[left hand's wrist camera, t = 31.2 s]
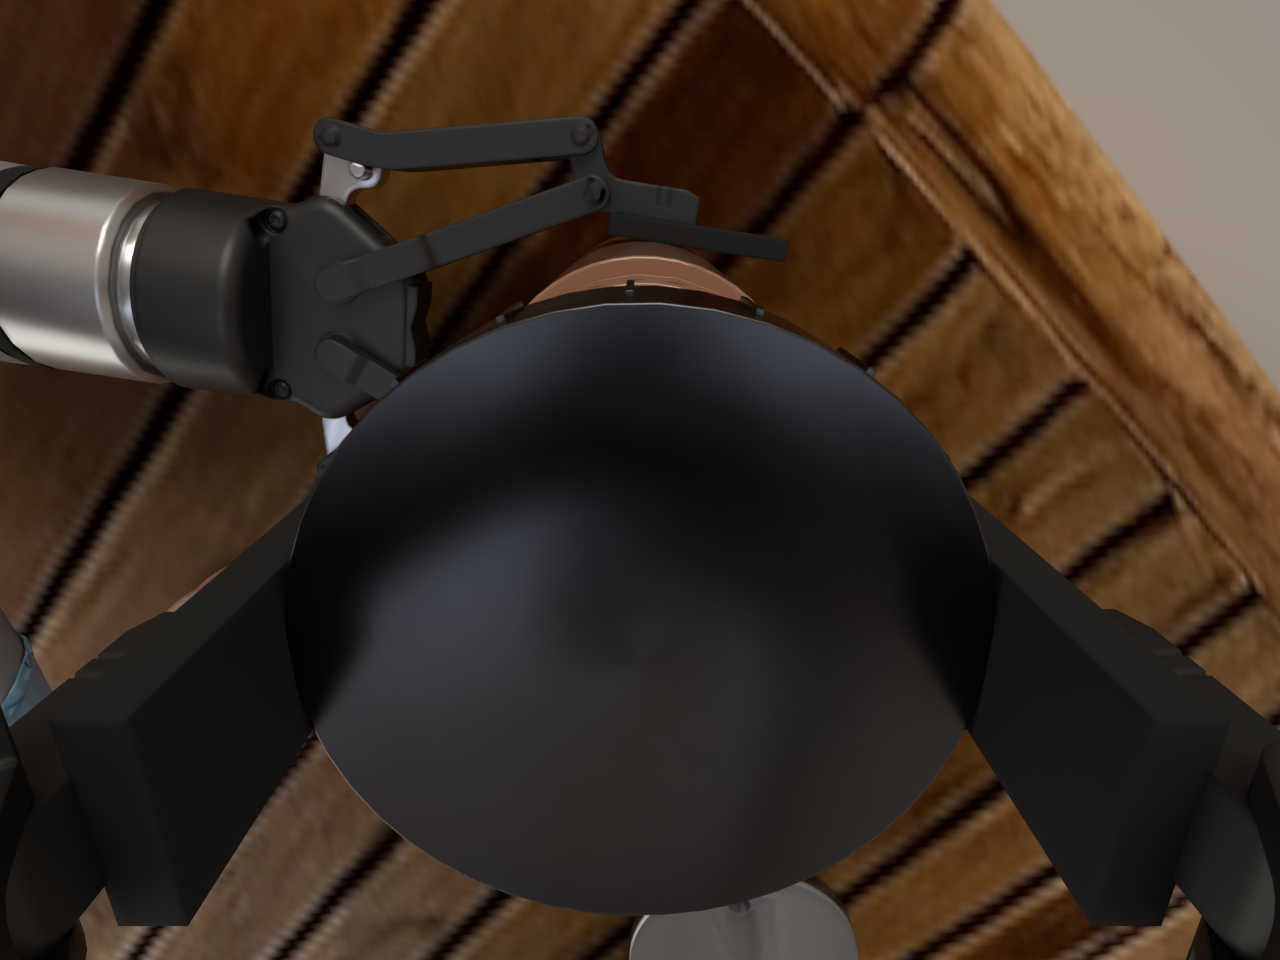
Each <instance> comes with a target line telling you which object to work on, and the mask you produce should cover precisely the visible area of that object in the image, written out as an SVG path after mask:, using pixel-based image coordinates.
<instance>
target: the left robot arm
mask: <svg viewBox="0 0 1280 960" xmlns="http://www.w3.org/2000/svg"><path fill="white" fill-rule="evenodd" d="M969 497H970V496H969ZM309 498H310V496H309V497H308V498H307V499H306V500H304V501H303V502H302V503H301V504H300V505H299V506H297V507H296V508H295V509H294V510H293V511H292V512H290V513H289V514H288V515H287V516H286V517H284V518H283V519H282V520H281V521H280V522H279V523H277V524H276V525H275V526H274V527H273V528H272V529H270V530H269V531H268V532H267V533H266V534H265V535H263V536H262V537H261V538H260V539H259V540H258V541H256V542H255V543H254V544H253V545H252V546H251V547H249V548H248V549H247V550H246V551H245V552H244V553H242V554H241V555H240V556H239V557H238V558H236V559H235V560H234V561H233V562H232V563H231V564H229V565H228V566H227V567H226V568H225V569H224V570H222V571H221V572H220V573H219V574H218V575H217V576H215V577H214V578H213V579H212V580H211V581H210V582H208V583H207V584H206V585H205V586H204V587H203V588H201V589H200V590H199V591H198V592H197V593H196V594H194V595H193V596H192V597H191V598H190V599H189V600H187V601H186V602H185V603H184V604H183V605H181V606H180V607H179V608H178V609H177V610H176V611H174V612H164V613H162V614H160V615H158V616H156V617H154V618H152V619H150V620H148V621H146V622H144V623H142V624H140V625H138V626H137V627H135V628H133V629H131V630H129V631H127V632H126V633H124V634H123V635H122V636H121V637H119V638H118V639H117V640H116V641H114V642H113V643H112V644H111V645H110V646H108V647H107V648H106V649H105V650H103V651H102V652H101V653H100V654H99V657H98V659H92V660H91V661H90V662H89V663H87V664H86V665H85V666H84V667H83V668H81V669H80V670H79V671H78V672H76V673H75V678H74V679H68V680H67V681H65V682H64V683H63V684H62V685H60V686H59V687H58V688H57V689H55V690H54V691H53V692H52V693H51V694H49V695H48V696H47V697H46V698H44V699H43V700H42V701H41V702H40V703H38V704H37V705H36V706H35V707H33V708H32V709H31V710H30V711H28V712H27V713H26V714H25V715H24V716H22V717H21V718H20V719H19V720H17V721H16V722H15V723H14V724H12V725H11V726H10V727H9V726H8V723H7V721H6V718H5V715H4V713H3V710H2V707H1V704H0V960H85V959H86V953H87V947H86V940H85V933H84V931H83V928H82V925H81V923H80V920H79V918H80V916H81V915H82V914H83V913H84V911H85V910H86V909H87V908H88V906H89V905H90V904H91V903H92V901H93V900H94V899H95V898H96V896H97V895H98V894H99V892H100V891H101V890H102V889H103V887H104V886H105V888H106V891H107V894H108V897H109V900H110V903H111V906H112V909H113V912H114V915H115V918H116V921H117V924H118V926H188V925H189V923H190V922H191V920H192V919H193V917H194V916H195V914H196V912H197V911H198V909H199V908H200V906H201V904H202V903H203V901H204V900H205V898H206V897H207V895H208V893H209V892H210V890H211V889H212V887H213V886H214V884H215V882H216V881H217V879H218V878H219V876H220V875H221V873H222V871H223V870H224V868H225V867H226V865H227V863H228V862H229V860H230V859H231V857H232V856H233V854H234V852H235V851H236V849H237V848H238V846H239V845H240V843H241V841H242V840H243V838H244V837H245V835H246V834H247V832H248V830H249V829H250V827H251V826H252V824H253V823H254V821H255V819H256V818H257V816H258V815H259V813H260V811H261V810H262V808H263V807H264V805H265V804H266V802H267V800H268V799H269V797H270V796H271V794H272V793H273V791H274V789H275V788H276V786H277V785H278V783H279V782H280V780H281V778H282V777H283V775H284V774H285V772H286V771H287V769H288V767H289V766H290V764H291V763H292V761H293V759H294V758H295V756H296V755H297V753H298V752H299V750H300V748H301V747H302V745H303V744H304V742H305V741H306V739H307V737H308V736H309V734H310V733H311V731H312V730H313V727H312V725H311V723H310V721H309V719H308V716H307V713H306V711H305V708H304V705H303V702H302V700H301V697H300V694H299V692H298V689H297V686H296V682H295V677H294V672H293V667H292V662H291V657H290V652H289V646H288V641H287V631H286V614H285V598H286V588H287V577H288V566H289V560H290V556H291V552H292V548H293V544H294V540H295V536H296V532H297V528H298V525H299V521H300V518H301V516H302V514H303V512H304V509H305V507H306V505H307V502H308V500H309ZM970 499H971V501H972V503H973V505H974V508H975V510H976V512H977V515H978V519H979V522H980V525H981V529H982V532H983V536H984V539H985V542H986V546H987V549H988V553H989V560H990V568H991V576H992V583H993V591H994V614H993V637H992V642H991V647H990V653H989V658H988V663H987V668H986V674H985V678H984V682H983V685H982V688H981V691H980V694H979V697H978V700H977V703H976V706H975V709H974V712H973V714H972V716H971V718H970V720H969V722H968V724H967V726H966V729H967V730H968V732H969V733H970V735H971V737H972V738H973V740H974V741H975V743H976V744H977V746H978V748H979V749H980V751H981V752H982V754H983V755H984V757H985V759H986V760H987V762H988V763H989V765H990V767H991V768H992V770H993V771H994V773H995V774H996V776H997V778H998V779H999V781H1000V782H1001V784H1002V785H1003V787H1004V789H1005V790H1006V792H1007V793H1008V795H1009V796H1010V798H1011V800H1012V801H1013V803H1014V804H1015V806H1016V808H1017V809H1018V811H1019V812H1020V814H1021V815H1022V817H1023V819H1024V820H1025V822H1026V823H1027V825H1028V826H1029V828H1030V830H1031V831H1032V833H1033V834H1034V836H1035V837H1036V839H1037V841H1038V842H1039V844H1040V845H1041V847H1042V849H1043V850H1044V852H1045V853H1046V855H1047V856H1048V858H1049V860H1050V861H1051V863H1052V864H1053V866H1054V867H1055V869H1056V871H1057V872H1058V874H1059V875H1060V877H1061V878H1062V880H1063V882H1064V883H1065V885H1066V886H1067V888H1068V889H1069V891H1070V893H1071V894H1072V896H1073V897H1074V899H1075V901H1076V902H1077V904H1078V905H1079V907H1080V908H1081V910H1082V912H1083V913H1084V915H1085V916H1086V918H1087V919H1088V921H1089V923H1090V924H1091V926H1161V925H1162V922H1163V919H1164V916H1165V913H1166V910H1167V907H1168V904H1169V901H1170V898H1171V895H1172V892H1173V890H1174V887H1175V884H1177V885H1178V887H1179V888H1180V889H1181V890H1182V892H1183V893H1184V894H1185V895H1186V896H1187V898H1188V899H1189V900H1190V901H1191V903H1192V904H1193V905H1194V906H1195V908H1196V909H1197V910H1198V911H1199V913H1200V914H1201V915H1202V917H1201V920H1200V923H1199V925H1198V928H1197V931H1196V933H1195V936H1194V939H1193V942H1192V944H1191V947H1190V950H1189V953H1188V955H1187V958H1186V960H1280V731H1279V730H1278V729H1277V728H1276V727H1274V726H1273V725H1272V724H1271V723H1269V722H1268V721H1267V720H1266V719H1264V718H1263V717H1262V716H1261V715H1259V714H1258V713H1257V712H1256V711H1255V710H1253V709H1252V708H1251V707H1250V706H1248V705H1247V704H1246V703H1245V702H1243V701H1242V700H1241V699H1240V698H1238V697H1237V696H1236V695H1235V694H1233V693H1232V692H1231V691H1230V690H1229V689H1227V688H1226V687H1225V686H1224V685H1222V684H1221V683H1220V682H1219V681H1217V680H1216V679H1215V678H1214V677H1212V676H1206V674H1205V670H1204V669H1203V668H1201V667H1200V666H1199V665H1198V664H1196V663H1195V662H1194V661H1193V660H1191V659H1190V658H1189V657H1188V656H1182V654H1181V651H1180V650H1179V649H1178V648H1177V647H1175V646H1174V645H1173V644H1172V643H1170V642H1169V641H1168V640H1167V639H1165V638H1164V637H1163V636H1162V635H1160V634H1159V633H1158V632H1157V631H1155V630H1154V629H1153V628H1151V627H1149V626H1147V625H1145V624H1143V623H1141V622H1139V621H1137V620H1135V619H1133V618H1131V617H1129V616H1127V615H1125V614H1123V613H1121V612H1119V611H1117V610H1115V609H1101V608H1100V607H1099V606H1098V605H1097V604H1096V603H1094V602H1093V601H1092V600H1091V599H1090V598H1089V597H1087V596H1086V595H1085V594H1084V593H1083V592H1082V591H1080V590H1079V589H1078V588H1077V587H1076V586H1075V585H1073V584H1072V583H1071V582H1070V581H1069V580H1068V579H1066V578H1065V577H1064V576H1063V575H1062V574H1061V573H1059V572H1058V571H1057V570H1056V569H1055V568H1054V567H1052V566H1051V565H1050V564H1049V563H1048V562H1046V561H1045V560H1044V559H1043V558H1042V557H1041V556H1039V555H1038V554H1037V553H1036V552H1035V551H1034V550H1032V549H1031V548H1030V547H1029V546H1028V545H1027V544H1025V543H1024V542H1023V541H1022V540H1021V539H1020V538H1018V537H1017V536H1016V535H1015V534H1014V533H1013V532H1011V531H1010V530H1009V529H1008V528H1007V527H1006V526H1004V525H1003V524H1002V523H1001V522H1000V521H999V520H997V519H996V518H995V517H994V516H993V515H991V514H990V513H989V512H988V511H987V510H986V509H984V508H983V507H982V506H981V505H980V504H979V503H977V502H976V501H975V500H974V499H973V498H972V497H970ZM629 960H858V952H857V944H856V939H855V935H854V932H853V928H852V925H851V921H850V918H849V915H848V913H847V910H846V909H845V907H844V905H843V903H842V902H841V900H840V899H839V898H838V896H837V895H836V894H835V893H834V892H833V891H832V890H831V889H830V888H829V887H828V886H826V885H825V884H824V883H822V882H821V881H820V880H818V879H817V878H815V877H811V878H808V879H806V880H804V881H801V882H799V883H797V884H794V885H792V886H789V887H787V888H785V889H782V890H780V891H778V892H774V893H771V894H768V895H765V896H762V897H758V898H755V899H752V900H749V901H745V902H742V903H738V904H733V905H728V906H724V907H719V908H714V909H709V910H704V911H696V912H687V913H678V914H668V915H636V917H635V919H634V922H633V925H632V928H631V933H630V959H629Z"/></svg>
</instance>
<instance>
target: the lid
mask: <svg viewBox="0 0 1280 960" xmlns="http://www.w3.org/2000/svg"><path fill="white" fill-rule="evenodd" d="M875 372H876V371H875V370H874V369H872V368H871V367H870V366H868V365H867V364H865V363H864V362H862V361H861V360H859V359H858V358H856V357H855V356H853V355H852V354H850V353H849V352H847V351H846V350H844V349H842V348H841V347H839V348H838V349H837V350H835V349H833V348H832V347H830V346H829V345H827V344H826V343H824V342H823V341H822V340H820V339H818V338H816V337H815V336H813V335H811V334H810V333H808V332H806V331H805V330H803V329H801V328H799V327H798V326H796V325H794V324H793V323H791V322H789V321H788V320H786V319H784V318H782V317H779V316H777V315H774V314H772V313H769V312H767V311H765V310H763V309H762V308H761V307H760V306H758V305H757V304H756V303H754V302H753V301H752V300H750V299H749V298H748V297H745V296H741V298H740V301H738V300H734V299H731V298H727V297H723V296H719V295H715V294H711V293H708V292H704V291H698V290H690V289H682V288H673V287H665V286H635V281H634V280H627V283H626V286H610V287H604V288H597V289H591V290H584V291H577V292H571V293H566V294H563V295H559V296H556V297H552V298H549V299H546V300H542V301H539V302H535V303H532V304H529V305H525V306H523V304H522V302H521V301H520V302H518V303H515V304H514V305H512V306H511V307H510V308H508V309H507V310H505V311H504V312H503V313H501V314H500V315H498V316H497V317H496V319H494V320H492V321H490V322H488V323H486V324H484V325H482V326H481V327H479V328H478V329H476V330H474V331H473V332H471V333H470V334H468V335H467V336H465V337H463V338H462V339H460V340H459V341H457V342H456V343H454V344H452V345H451V346H449V347H448V348H446V349H445V350H444V351H442V352H441V353H439V354H438V355H436V356H435V357H433V358H432V359H431V360H429V359H428V358H425V359H423V360H422V361H420V362H419V363H417V364H416V365H414V366H413V367H412V368H410V369H409V370H407V371H406V372H404V373H403V374H401V375H400V376H398V377H397V378H395V379H394V380H393V381H392V382H390V385H391V386H392V387H393V389H392V390H390V391H389V392H388V393H387V394H386V395H385V396H383V397H382V398H381V399H380V400H379V401H378V402H376V403H375V404H374V405H373V406H372V407H371V408H370V409H369V410H368V411H367V413H366V414H365V415H364V416H363V417H362V418H361V420H360V421H359V422H358V423H357V424H356V425H355V427H354V428H353V429H352V430H351V431H350V432H349V433H348V435H347V436H346V437H345V438H344V439H343V440H342V442H341V443H340V445H339V446H338V448H337V449H336V451H335V452H334V454H333V456H332V457H331V459H330V460H329V462H328V464H327V465H326V467H325V468H324V470H323V472H322V473H321V475H320V476H319V478H318V480H317V481H316V484H315V486H314V488H313V491H312V493H311V495H310V498H309V500H308V502H307V505H306V507H305V509H304V512H303V514H302V516H301V518H300V521H299V525H298V528H297V532H296V536H295V540H294V544H293V548H292V552H291V556H290V560H289V566H288V577H287V588H286V598H285V614H286V631H287V641H288V646H289V652H290V657H291V662H292V667H293V672H294V677H295V682H296V686H297V689H298V692H299V694H300V697H301V700H302V702H303V705H304V708H305V711H306V713H307V716H308V719H309V721H310V723H311V725H312V727H313V729H314V730H315V732H316V734H317V736H318V738H319V740H320V742H321V744H322V745H323V747H324V749H325V751H326V753H327V755H328V756H329V758H330V759H331V760H332V762H333V763H334V765H335V766H336V767H337V769H338V770H339V771H340V773H341V774H342V776H343V777H344V778H345V780H346V781H347V783H348V784H349V785H350V787H351V788H352V789H353V790H354V791H355V792H356V793H357V794H358V795H359V796H360V797H361V799H362V800H363V801H364V802H365V803H366V804H367V805H368V806H369V807H370V808H371V809H372V810H373V811H374V813H375V814H376V815H377V816H379V817H380V818H381V819H382V820H383V821H384V822H386V823H387V824H388V825H389V826H390V827H392V828H393V829H394V830H395V831H396V832H397V833H399V834H400V835H401V836H402V837H403V838H404V839H406V840H407V841H408V842H410V843H411V844H413V845H414V846H416V847H417V848H419V849H420V850H422V851H423V852H425V853H426V854H428V855H429V856H431V857H432V858H434V859H435V860H437V861H438V862H440V863H442V864H444V865H446V866H448V867H450V868H452V869H453V870H455V871H457V872H459V873H461V874H463V875H465V876H467V877H469V878H471V879H472V880H475V881H477V882H480V883H482V884H485V885H487V886H490V887H492V888H495V889H497V890H500V891H502V892H505V893H507V894H510V895H514V896H517V897H521V898H524V899H528V900H531V901H534V902H538V903H541V904H545V905H549V906H555V907H560V908H566V909H571V910H577V911H582V912H590V913H602V914H614V915H668V914H678V913H687V912H696V911H704V910H709V909H714V908H719V907H724V906H728V905H733V904H738V903H742V902H745V901H749V900H752V899H755V898H758V897H762V896H765V895H768V894H771V893H774V892H778V891H780V890H782V889H785V888H787V887H789V886H792V885H794V884H797V883H799V882H801V881H804V880H806V879H808V878H811V877H813V876H815V875H817V874H819V873H820V872H822V871H824V870H826V869H828V868H829V867H831V866H833V865H835V864H837V863H838V862H840V861H842V860H844V859H846V858H847V857H849V856H850V855H852V854H853V853H855V852H856V851H857V850H859V849H860V848H862V847H863V846H864V845H866V844H867V843H869V842H870V841H872V840H873V839H874V838H876V837H877V836H879V835H880V834H881V833H882V832H883V831H884V830H886V829H887V828H888V827H889V826H890V825H891V824H892V823H893V822H894V821H896V820H897V819H898V818H899V817H900V816H901V815H902V814H903V813H905V812H906V811H907V810H908V809H909V808H910V807H911V806H912V804H913V803H914V802H915V801H916V800H917V799H918V798H919V796H920V795H921V794H922V793H923V792H924V791H925V790H926V788H927V787H928V786H929V785H930V784H931V783H932V782H933V781H934V779H935V778H936V776H937V775H938V773H939V772H940V770H941V769H942V768H943V766H944V765H945V763H946V762H947V760H948V759H949V757H950V756H951V754H952V753H953V751H954V750H955V748H956V747H957V745H958V743H959V741H960V739H961V737H962V735H963V733H964V731H965V729H966V726H967V724H968V722H969V720H970V718H971V716H972V714H973V712H974V709H975V706H976V703H977V700H978V697H979V694H980V691H981V688H982V685H983V682H984V678H985V674H986V668H987V663H988V658H989V653H990V647H991V642H992V637H993V614H994V591H993V583H992V576H991V568H990V560H989V553H988V549H987V546H986V542H985V539H984V536H983V532H982V529H981V525H980V522H979V519H978V515H977V512H976V510H975V508H974V505H973V503H972V501H971V499H970V497H969V495H968V493H967V491H966V489H965V486H964V484H963V482H962V480H961V478H960V476H959V474H958V472H957V470H956V469H955V467H954V466H953V464H952V463H951V461H950V458H949V456H948V454H946V453H945V452H944V451H943V449H942V448H941V447H940V445H939V444H938V442H937V441H936V439H935V438H934V436H933V435H932V433H931V432H930V431H929V430H928V429H927V428H926V427H925V426H924V425H923V424H922V423H921V421H920V420H919V419H918V418H917V417H916V416H915V415H914V414H913V413H912V412H911V411H910V410H909V409H908V407H907V406H906V405H905V404H904V403H903V402H902V401H901V400H900V399H899V398H898V397H897V396H895V395H894V394H893V393H892V392H890V391H889V390H888V389H887V388H885V387H884V386H883V385H882V384H880V383H879V382H878V381H877V380H875V379H874V378H873V377H872V375H873V374H874V373H875Z"/></svg>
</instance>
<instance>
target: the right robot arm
mask: <svg viewBox="0 0 1280 960" xmlns="http://www.w3.org/2000/svg"><path fill="white" fill-rule="evenodd" d="M313 136H314V141H315V143H316V145H317V147H318V148H319V149H320V150H321V151H322V152H324V160H323V169H322V178H321V187H320V196H315V197H312V198H310V199H307V200H305V201H303V202H300V203H287V202H280V201H274V200H267V199H260V198H254V197H247V196H241V195H234V194H227V193H221V192H214V191H208V190H201V189H194V188H185V189H181V190H176V189H174V188H172V187H171V186H169V185H167V184H162V183H155V182H149V181H142V180H136V179H129V178H123V177H116V176H110V175H103V174H97V173H90V172H84V171H77V170H71V169H64V168H58V167H44V166H36V165H22V164H16V163H10V162H5V161H0V361H3V362H10V363H18V364H26V365H35V366H40V367H46V368H52V369H62V370H69V371H75V372H82V373H89V374H96V375H103V376H109V377H116V378H123V379H130V380H136V381H143V382H150V383H157V384H163V383H168V382H173V383H175V384H177V385H179V386H183V387H187V388H194V389H201V390H208V391H215V392H222V393H229V394H236V395H243V396H250V397H258V398H265V399H275V400H285V401H291V402H294V403H296V404H299V405H301V406H303V407H305V408H306V409H308V410H309V411H311V412H312V413H314V414H315V415H317V416H319V417H322V423H323V430H324V437H325V444H326V451H327V456H325V457H324V458H323V459H322V460H320V462H319V464H318V466H317V471H318V474H319V476H320V475H321V473H322V472H323V470H324V468H325V467H326V465H327V464H328V462H329V460H330V459H331V457H332V456H333V454H334V452H335V451H336V449H337V448H338V446H339V445H340V443H341V442H342V440H343V439H344V438H345V437H346V436H347V435H348V433H349V432H350V431H351V430H352V429H353V428H354V427H355V425H356V424H357V423H358V422H359V421H358V420H357V418H356V417H355V414H354V411H356V410H358V409H360V408H361V407H363V406H365V405H367V404H369V403H371V402H372V401H374V400H376V399H378V400H380V399H381V398H382V397H383V396H385V395H386V394H387V393H388V392H389V391H390V390H392V389H393V387H392V386H391V385H390V382H392V381H393V380H394V379H395V378H397V377H398V376H400V375H401V374H403V373H404V372H406V371H407V370H409V369H410V368H412V367H413V366H414V365H416V364H417V363H419V362H420V361H422V360H423V359H425V358H429V342H430V339H429V335H428V330H427V326H426V321H425V320H426V316H427V313H428V309H429V306H430V303H431V295H432V282H431V281H428V280H427V276H426V273H425V272H427V271H430V270H433V269H436V268H438V267H441V266H444V265H447V264H450V263H453V262H455V261H458V260H461V259H464V258H467V257H469V256H472V255H475V254H478V253H481V252H484V251H486V250H489V249H492V248H495V247H498V246H501V245H504V244H506V243H509V242H512V241H515V240H518V239H521V238H523V237H526V236H529V235H532V234H535V233H538V232H541V231H543V230H546V229H549V228H552V227H555V226H558V225H560V224H563V223H566V222H569V221H572V220H575V219H578V218H580V217H583V216H586V215H589V214H592V213H595V212H602V213H609V214H610V216H609V224H608V232H607V235H612V236H618V237H624V238H631V239H637V240H644V241H650V242H657V243H663V244H670V245H676V246H683V247H689V248H696V249H702V250H709V251H715V252H722V253H728V254H735V255H741V256H747V257H754V258H760V259H767V260H773V261H780V262H785V258H786V253H787V248H788V243H789V241H788V240H784V239H780V238H776V237H770V236H764V235H757V234H751V233H744V232H738V231H732V230H725V229H719V228H712V227H706V226H700V225H696V219H697V212H698V206H699V200H700V198H699V197H697V196H696V195H694V194H693V193H691V192H690V191H688V190H684V189H678V188H672V187H665V186H659V185H653V184H646V183H640V182H634V181H628V180H622V179H619V178H617V177H615V176H613V175H612V174H611V172H610V171H609V169H608V167H607V164H606V159H605V154H604V149H603V145H602V138H601V135H600V132H599V130H598V128H597V127H596V125H595V124H594V123H593V121H592V120H590V119H589V118H587V117H585V116H570V117H558V118H546V119H535V120H523V121H511V122H500V123H488V124H476V125H464V126H453V127H441V128H429V129H418V130H406V131H394V132H380V131H376V130H373V129H370V128H366V127H363V126H359V125H356V124H352V123H349V122H345V121H341V120H338V119H334V118H323V119H321V120H319V121H318V122H317V123H316V125H315V127H314V130H313ZM558 160H570V163H571V168H572V172H573V177H574V181H571V182H569V183H566V184H563V185H560V186H557V187H555V188H552V189H549V190H546V191H543V192H541V193H538V194H535V195H532V196H529V197H527V198H524V199H521V200H518V201H516V202H513V203H510V204H507V205H504V206H502V207H499V208H496V209H493V210H490V211H488V212H485V213H482V214H479V215H476V216H474V217H471V218H468V219H465V220H462V221H460V222H457V223H454V224H451V225H448V226H446V227H443V228H440V229H437V230H434V231H432V232H429V233H426V234H422V235H419V236H416V237H413V238H410V239H407V240H404V241H401V242H399V243H398V242H397V241H396V240H395V239H394V238H393V237H392V236H391V235H390V234H389V233H388V232H386V231H385V230H384V229H383V228H382V227H381V226H380V225H379V224H378V223H377V222H376V221H374V220H373V219H372V218H371V217H370V216H369V215H368V214H367V213H366V212H365V211H364V210H362V209H361V208H360V207H359V206H358V205H357V204H356V203H355V202H356V198H357V196H358V195H359V193H360V192H361V191H363V190H365V189H377V188H380V187H382V186H384V185H385V184H386V182H387V181H388V177H389V172H390V170H394V171H403V172H427V171H439V170H451V169H463V168H474V167H486V166H498V165H510V164H522V163H534V162H546V161H558ZM51 693H52V690H51V688H50V687H49V685H48V683H47V681H46V679H45V677H44V675H43V673H42V671H41V669H40V667H39V665H38V663H37V661H36V659H35V658H34V655H33V650H32V645H31V643H30V642H29V640H28V639H27V637H25V636H23V635H22V634H20V633H18V632H17V631H16V630H15V629H14V628H13V626H12V625H11V623H10V622H9V620H8V619H7V617H6V616H5V614H4V613H3V611H2V610H1V609H0V704H1V707H2V710H3V713H4V715H5V718H6V721H7V723H8V726H9V727H10V726H11V725H12V724H14V723H15V722H16V721H17V720H19V719H20V718H21V717H22V716H24V715H25V714H26V713H27V712H28V711H30V710H31V709H32V708H33V707H35V706H36V705H37V704H38V703H40V702H41V701H42V700H43V699H44V698H46V697H47V696H48V695H49V694H51Z"/></svg>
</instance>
